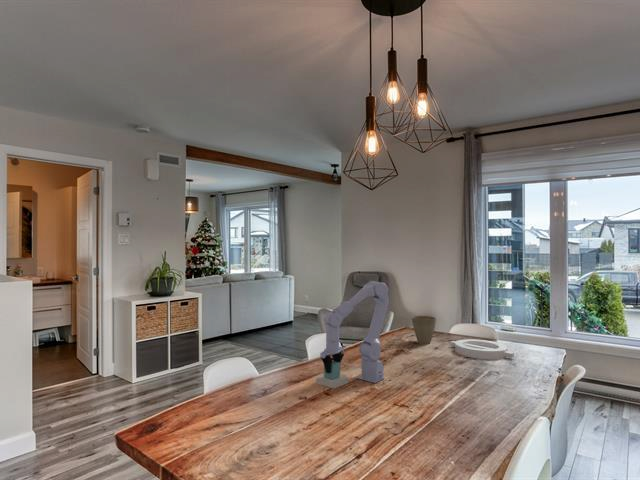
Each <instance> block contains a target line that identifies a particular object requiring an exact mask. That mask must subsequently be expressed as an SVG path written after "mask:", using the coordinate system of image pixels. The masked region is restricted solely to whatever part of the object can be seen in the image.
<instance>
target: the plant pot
mask: <svg viewBox="0 0 640 480" xmlns="http://www.w3.org/2000/svg"><path fill="white" fill-rule="evenodd" d="M411 320H412V326H413V330H414V334H415V337H416V340H417V343H418V344H420V343H421V344H422V345H430V344H431V342H432V339H433V337H434V336H433V335H434V333H435V329H436V323H437V317H435V316H432V315H431V316H430V315H413V316H412V317H411Z"/></svg>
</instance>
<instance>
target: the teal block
mask: <svg viewBox="0 0 640 480" xmlns="http://www.w3.org/2000/svg"><path fill="white" fill-rule="evenodd" d="M323 375H324V377H327V378H330V379H335V378H337V377H340V375H341V363H340V362H335V361H332V365H331V373H326V370H325V366H324V365H323Z"/></svg>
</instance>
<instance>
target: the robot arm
mask: <svg viewBox="0 0 640 480" xmlns="http://www.w3.org/2000/svg"><path fill="white" fill-rule="evenodd" d="M389 290H390V289H389V288H388V285H386V283H385V282H381V281H380V282H379V281H375V280H370V281H368V282H367V283H365V284H364V285H363V287H362V288H361V289H360V290H359V291H357V293H355V295H353V296H352V297H351V298H350V299H349V300H344V301H341V302H340V303H339V305H338V306H337V307H336V308H333V309H332V311H329V312H327V313H326V315H325V317H324V318H323V321H324V323H325V324H326V329H325V331H326V332H325V333H326V335H325V338H326V339H325V348H324V351H322V352H319V353H320V359H321V361H322V363H323V367H324V366H325V370H326V373H331V365H332V361H335V362H340V364H341V362H342V360H343V358H344V357H345V354H344V352H345V347H343V346H340V326H341V325H342V322H343V320H344V319H345V318H346V317H348V316H349V315H350V314H351V313H352V312H353V311H354V307H355V306H357V305H358V304H359V303H361V302H362V301H363V300H364V299H366V298H369V297H372V298H373V300H374V301H375V307H374V310H373V313H372V318H371V321H370V325H369V329H368V332H367V335H366V336H365V337H364V338H363V340H362V343H361V344H360V345H359V347H358V349H359V350H358V351H359V353H360V354H361V375H360V376H357V379H358V380H362V381H366V382H370V383H374V384H376V383H378V382H380V381H382V380H384V379H385V377H384V363H383V361H381V360H379V358H380V356H381V352H382V351H381V346H382V344H381V341H380V337H381V334H382V329H383V326H384V322H385V318H386V314H387V311H388V308H389V304H390V299H389ZM331 356H332V357H331Z"/></svg>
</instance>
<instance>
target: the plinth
mask: <svg viewBox="0 0 640 480" xmlns="http://www.w3.org/2000/svg"><path fill="white" fill-rule="evenodd" d="M348 383H349V376H346V375H342V374H340V377H337V378H335V379H330V378H327V377H324V374H322V375H319V376H317V377H315V384H317V385H321V386H324V387H327V388H331V389H337V388H339V387H341V386H344V385H346V384H348Z"/></svg>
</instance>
